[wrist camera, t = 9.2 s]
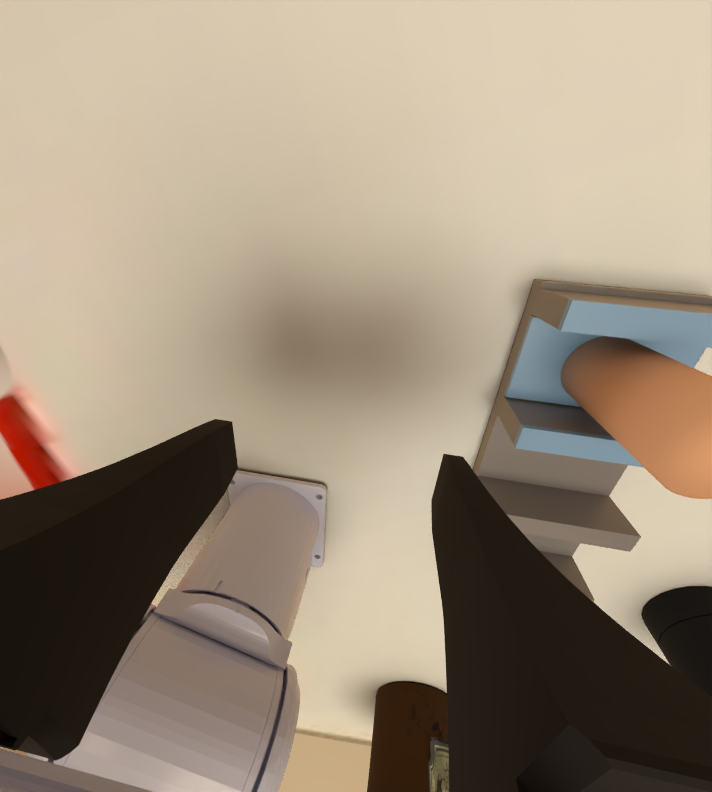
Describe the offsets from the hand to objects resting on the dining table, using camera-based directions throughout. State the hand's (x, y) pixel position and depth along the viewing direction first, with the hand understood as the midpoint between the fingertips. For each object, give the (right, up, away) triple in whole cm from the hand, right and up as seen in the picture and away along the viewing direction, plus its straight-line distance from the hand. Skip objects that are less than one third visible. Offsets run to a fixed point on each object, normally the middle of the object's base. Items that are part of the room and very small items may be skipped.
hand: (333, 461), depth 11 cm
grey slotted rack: (+13, -1, +9) cm, 16 cm away
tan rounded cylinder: (+13, +3, +5) cm, 15 cm away
